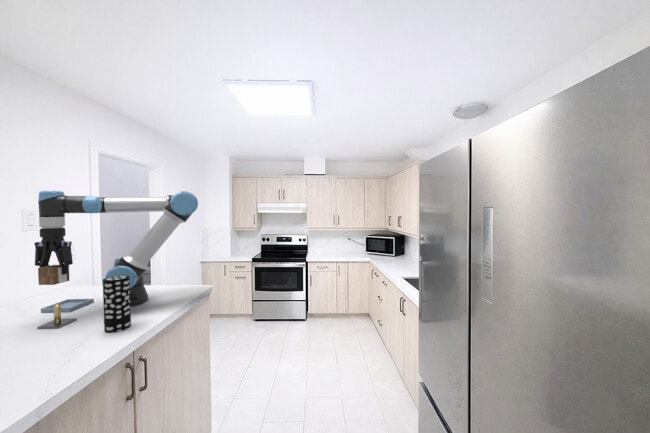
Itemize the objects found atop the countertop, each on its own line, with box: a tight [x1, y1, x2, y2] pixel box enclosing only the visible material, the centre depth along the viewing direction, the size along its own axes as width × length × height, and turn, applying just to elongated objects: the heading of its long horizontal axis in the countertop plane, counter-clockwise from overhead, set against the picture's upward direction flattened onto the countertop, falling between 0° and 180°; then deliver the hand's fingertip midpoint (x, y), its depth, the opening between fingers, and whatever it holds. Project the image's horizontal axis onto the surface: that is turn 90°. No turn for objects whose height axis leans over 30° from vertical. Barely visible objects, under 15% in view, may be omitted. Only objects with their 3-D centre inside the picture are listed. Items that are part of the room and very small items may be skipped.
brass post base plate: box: [37, 303, 77, 330], centre depth 108 cm, size 8×8×8 cm
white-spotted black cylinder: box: [102, 275, 132, 334], centre depth 104 cm, size 8×8×20 cm
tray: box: [40, 298, 95, 314], centre depth 127 cm, size 13×13×2 cm
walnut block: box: [37, 264, 70, 286], centre depth 110 cm, size 6×6×7 cm
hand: (54, 282), depth 110 cm, fingers closed on walnut block, 6 cm apart
